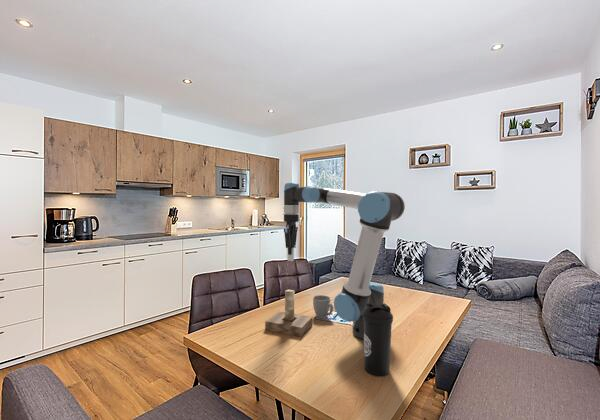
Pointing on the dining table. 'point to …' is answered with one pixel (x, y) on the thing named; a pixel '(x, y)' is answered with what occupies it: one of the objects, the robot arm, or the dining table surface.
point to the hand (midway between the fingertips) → (290, 260)
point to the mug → (322, 306)
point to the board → (289, 324)
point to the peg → (289, 305)
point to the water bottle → (377, 339)
